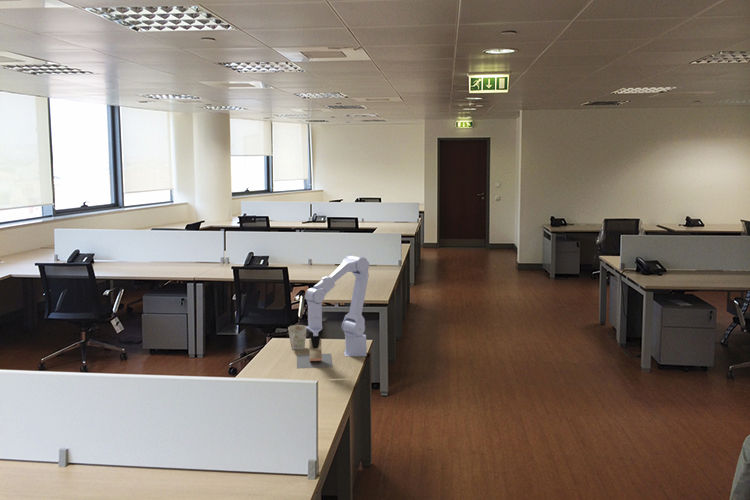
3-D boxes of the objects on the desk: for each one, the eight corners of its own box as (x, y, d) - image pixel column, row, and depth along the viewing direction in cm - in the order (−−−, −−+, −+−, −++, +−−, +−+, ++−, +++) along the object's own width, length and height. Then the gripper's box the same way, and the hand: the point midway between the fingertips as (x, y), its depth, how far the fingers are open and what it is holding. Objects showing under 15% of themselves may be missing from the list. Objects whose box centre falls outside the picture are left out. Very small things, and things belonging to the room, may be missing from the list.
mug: (308, 345, 298) (308, 325, 297) (303, 354, 286) (302, 332, 284) (291, 345, 299) (290, 324, 298) (284, 353, 287) (284, 332, 285)
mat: (330, 354, 285) (330, 353, 285) (333, 367, 268) (333, 366, 268) (296, 355, 284) (296, 354, 284) (296, 369, 266) (296, 368, 266)
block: (321, 360, 275) (320, 339, 277) (321, 360, 271) (321, 339, 272) (309, 361, 275) (309, 340, 277) (309, 361, 270) (309, 339, 272)
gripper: (305, 312, 275) (305, 343, 277) (305, 321, 261) (306, 353, 263) (321, 312, 276) (322, 342, 278) (323, 320, 262) (323, 352, 264)
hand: (315, 347), depth 271 cm, fingers closed
